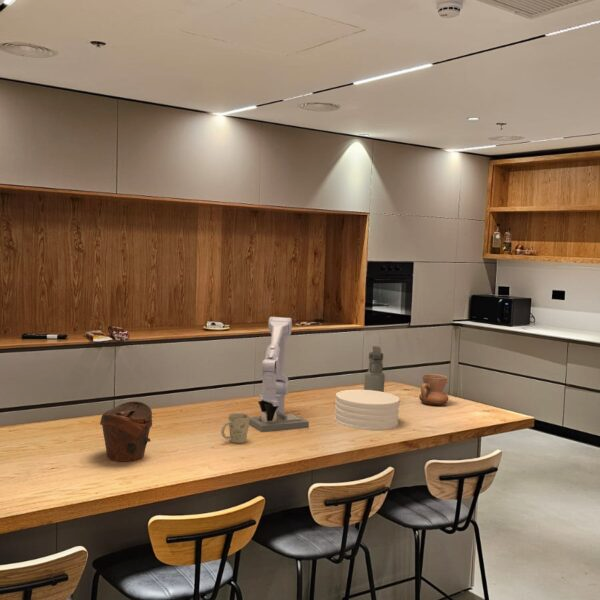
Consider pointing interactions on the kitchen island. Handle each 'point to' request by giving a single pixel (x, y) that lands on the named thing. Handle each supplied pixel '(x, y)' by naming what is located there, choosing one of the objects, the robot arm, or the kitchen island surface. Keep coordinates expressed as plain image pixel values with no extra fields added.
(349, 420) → the plate stack
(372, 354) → the grey stone figurine
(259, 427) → the socket
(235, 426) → the mug
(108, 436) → the brown rounded container
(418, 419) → the kitchen island surface
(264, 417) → the plug
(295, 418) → the block
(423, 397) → the ceramic jug
